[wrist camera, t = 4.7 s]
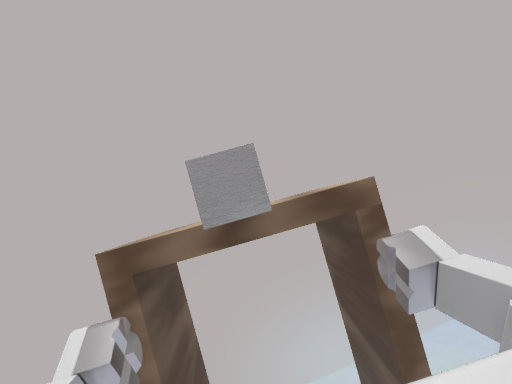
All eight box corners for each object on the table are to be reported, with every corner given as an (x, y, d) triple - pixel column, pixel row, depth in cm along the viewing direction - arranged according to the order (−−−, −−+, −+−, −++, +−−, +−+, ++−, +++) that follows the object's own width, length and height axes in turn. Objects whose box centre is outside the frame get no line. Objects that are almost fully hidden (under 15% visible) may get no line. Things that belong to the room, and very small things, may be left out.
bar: (257, 206, 34) (246, 168, 34) (283, 207, 14) (258, 117, 14) (219, 216, 34) (208, 178, 34) (192, 233, 14) (166, 141, 14)
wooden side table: (387, 412, 37) (323, 187, 38) (478, 537, 23) (374, 176, 24) (213, 469, 36) (149, 235, 36) (197, 638, 22) (94, 254, 22)
